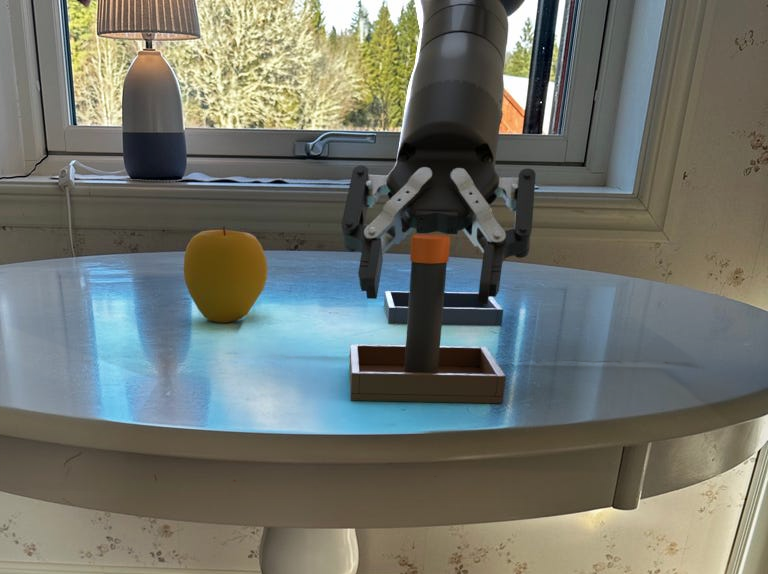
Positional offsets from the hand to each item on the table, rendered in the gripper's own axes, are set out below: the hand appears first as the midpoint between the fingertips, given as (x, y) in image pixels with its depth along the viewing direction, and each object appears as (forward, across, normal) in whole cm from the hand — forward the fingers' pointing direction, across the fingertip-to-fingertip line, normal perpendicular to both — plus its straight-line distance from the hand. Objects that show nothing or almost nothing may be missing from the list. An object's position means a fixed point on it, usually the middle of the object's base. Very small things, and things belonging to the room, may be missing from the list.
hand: (426, 294), depth 70 cm
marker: (+4, 0, +6) cm, 7 cm away
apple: (-12, -22, +22) cm, 33 cm away
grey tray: (-16, -1, +26) cm, 31 cm away
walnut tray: (+4, 0, +6) cm, 7 cm away
